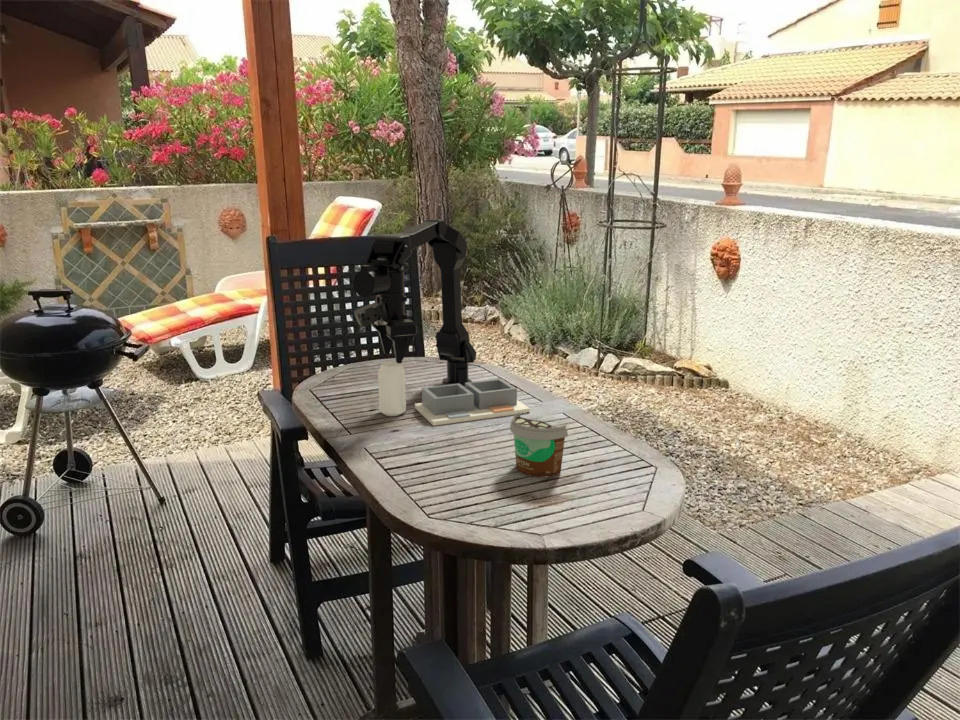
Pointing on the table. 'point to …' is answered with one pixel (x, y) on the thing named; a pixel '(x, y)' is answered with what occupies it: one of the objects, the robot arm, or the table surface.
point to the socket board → (469, 401)
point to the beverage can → (392, 389)
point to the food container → (537, 446)
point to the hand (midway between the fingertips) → (392, 358)
